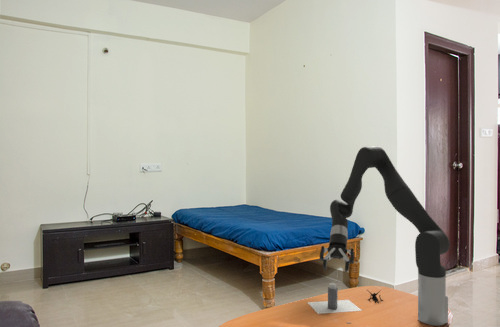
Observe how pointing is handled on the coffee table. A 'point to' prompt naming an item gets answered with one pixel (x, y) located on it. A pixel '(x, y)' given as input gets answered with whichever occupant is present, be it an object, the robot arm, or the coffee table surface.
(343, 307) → the dock plate
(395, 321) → the coffee table surface
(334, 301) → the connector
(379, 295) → the creature
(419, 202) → the robot arm
